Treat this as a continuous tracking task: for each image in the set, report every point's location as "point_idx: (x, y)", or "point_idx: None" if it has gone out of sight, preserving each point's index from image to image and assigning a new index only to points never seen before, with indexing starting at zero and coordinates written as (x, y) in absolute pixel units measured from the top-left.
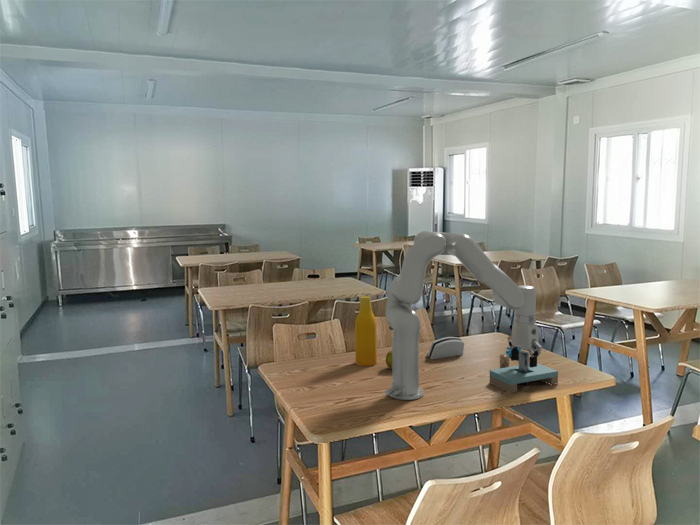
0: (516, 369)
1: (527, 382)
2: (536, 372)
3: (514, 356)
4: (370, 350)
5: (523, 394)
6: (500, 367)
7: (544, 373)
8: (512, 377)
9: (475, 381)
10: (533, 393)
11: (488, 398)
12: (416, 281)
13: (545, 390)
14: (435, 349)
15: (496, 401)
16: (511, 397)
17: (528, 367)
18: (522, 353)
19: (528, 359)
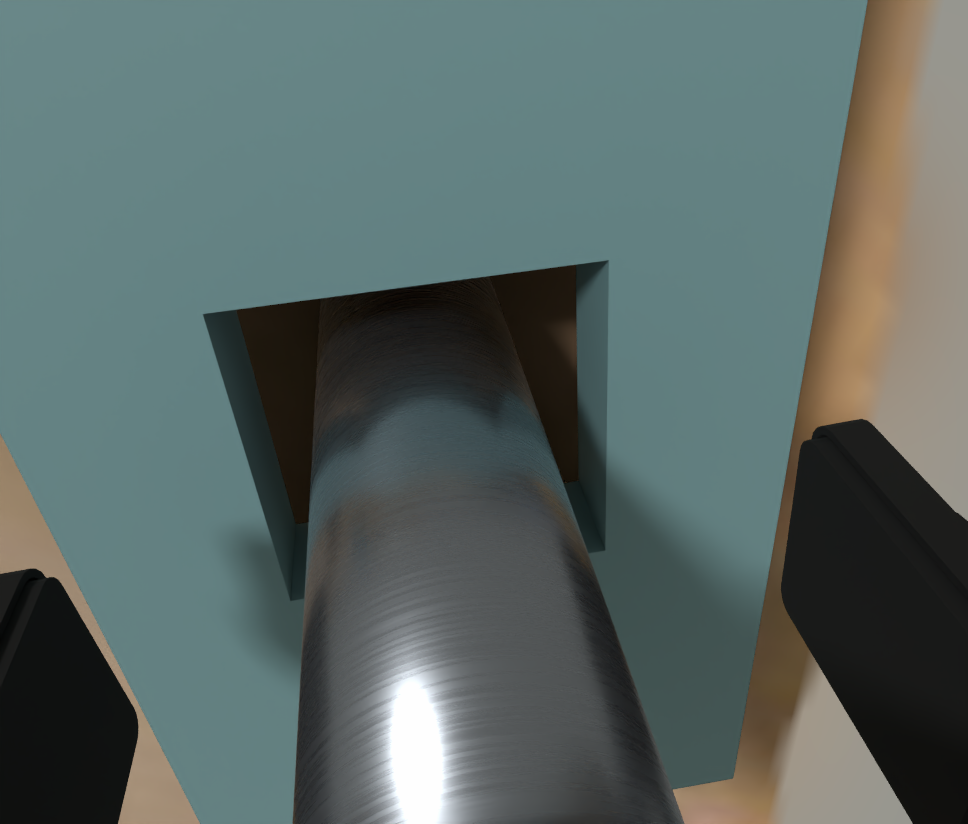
0: (267, 517)
1: (494, 293)
2: (674, 252)
3: (83, 788)
4: None
5: (783, 516)
6: None
7: (844, 100)
8: (679, 737)
9: (150, 786)
10: (832, 392)
11: (678, 805)
12: None
13: (855, 148)
14: None
15: (774, 777)
16: (776, 652)
17: (537, 439)
18: None
19: (605, 622)
